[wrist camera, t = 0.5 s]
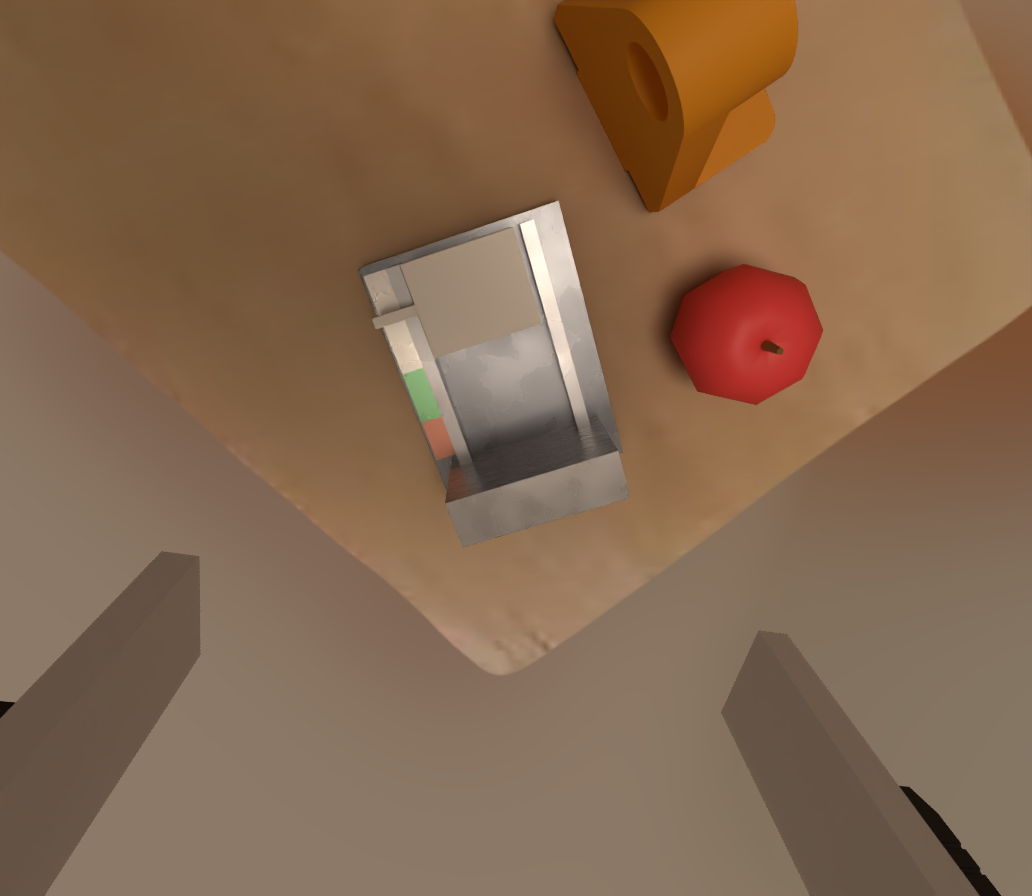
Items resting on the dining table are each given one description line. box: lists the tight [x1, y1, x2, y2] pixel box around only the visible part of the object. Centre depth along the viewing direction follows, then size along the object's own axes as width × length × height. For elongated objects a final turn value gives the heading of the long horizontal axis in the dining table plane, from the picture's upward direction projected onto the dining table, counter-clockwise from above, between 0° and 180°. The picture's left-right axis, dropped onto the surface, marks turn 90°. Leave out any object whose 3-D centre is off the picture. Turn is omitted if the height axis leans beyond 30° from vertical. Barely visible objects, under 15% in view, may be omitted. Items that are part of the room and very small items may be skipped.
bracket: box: [553, 0, 798, 213], centre depth 24 cm, size 11×7×12 cm, turn 33°
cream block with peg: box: [372, 227, 541, 358], centre depth 30 cm, size 5×9×4 cm, turn 107°
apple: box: [670, 264, 823, 405], centre depth 31 cm, size 8×8×8 cm
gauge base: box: [358, 201, 630, 547], centre depth 32 cm, size 16×12×7 cm
